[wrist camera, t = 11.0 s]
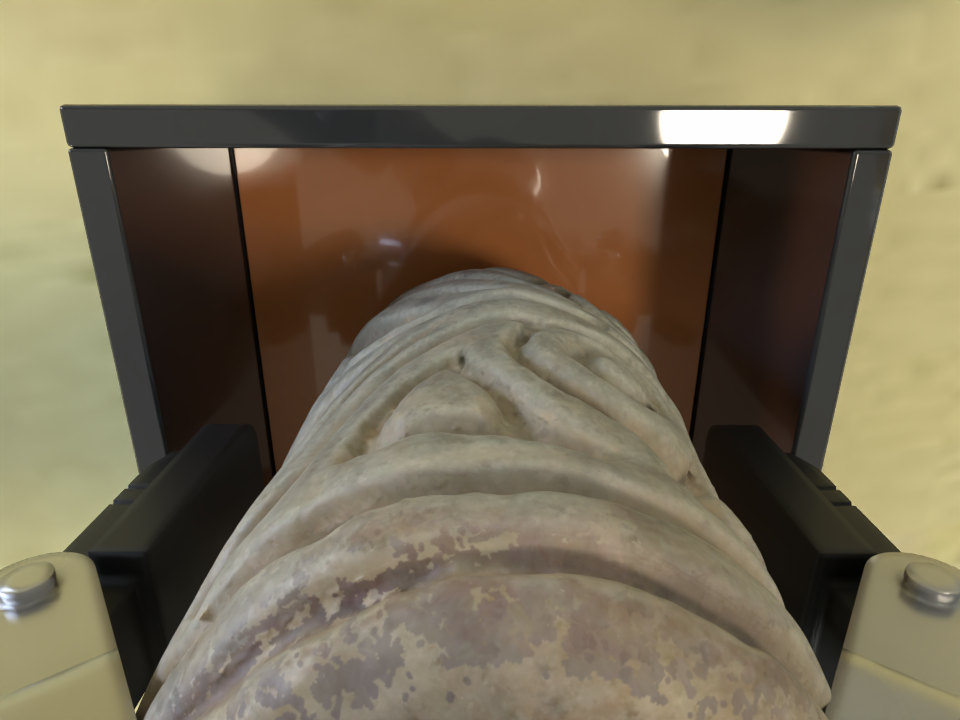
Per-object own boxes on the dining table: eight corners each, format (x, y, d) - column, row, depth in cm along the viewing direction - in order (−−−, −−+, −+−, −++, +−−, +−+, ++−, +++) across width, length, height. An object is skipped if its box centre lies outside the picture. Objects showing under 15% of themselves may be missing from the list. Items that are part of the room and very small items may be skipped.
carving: (656, 276, 15) (1236, 766, 3) (544, 530, 17) (664, 1295, 6) (398, 188, 14) (53, 435, 3) (320, 466, 16) (-28, 1197, 5)
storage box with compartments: (213, 113, 14) (56, 104, 9) (747, 113, 14) (905, 105, 9) (311, 818, 22) (259, 1028, 17) (647, 818, 22) (698, 1029, 17)
